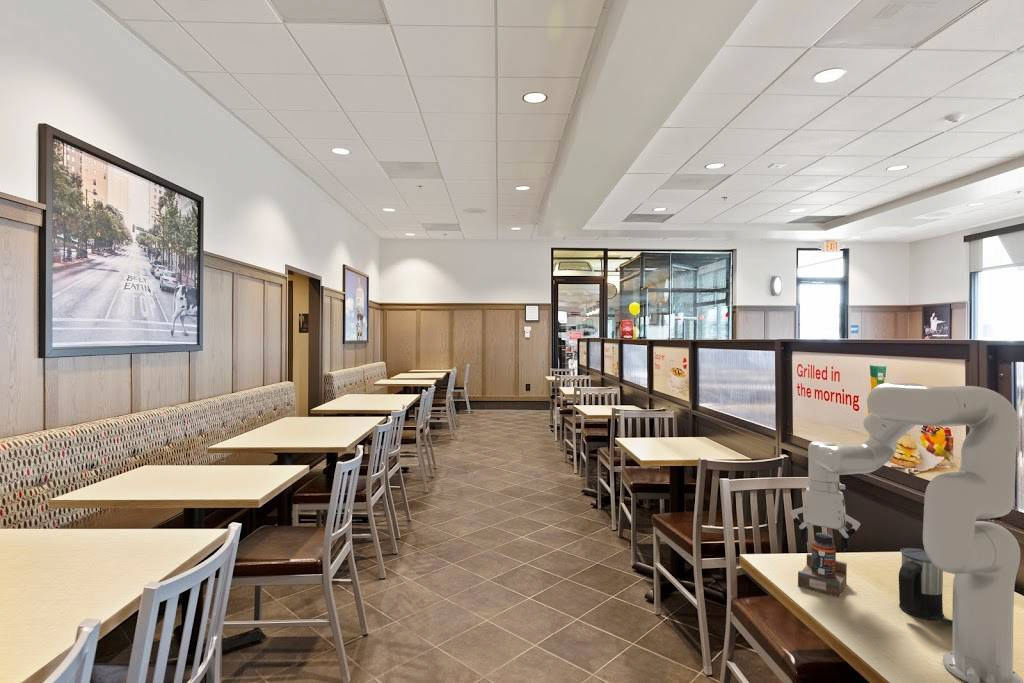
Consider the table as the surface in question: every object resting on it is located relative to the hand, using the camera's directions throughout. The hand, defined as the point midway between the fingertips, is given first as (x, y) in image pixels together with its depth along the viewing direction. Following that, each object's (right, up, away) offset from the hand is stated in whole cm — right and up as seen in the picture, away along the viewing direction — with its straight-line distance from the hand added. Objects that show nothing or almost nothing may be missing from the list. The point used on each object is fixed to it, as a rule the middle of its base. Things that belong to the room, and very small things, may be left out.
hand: (824, 546), depth 151 cm
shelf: (0, -11, +1) cm, 11 cm away
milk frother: (+18, -12, -18) cm, 28 cm away
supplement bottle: (0, -8, 0) cm, 8 cm away
